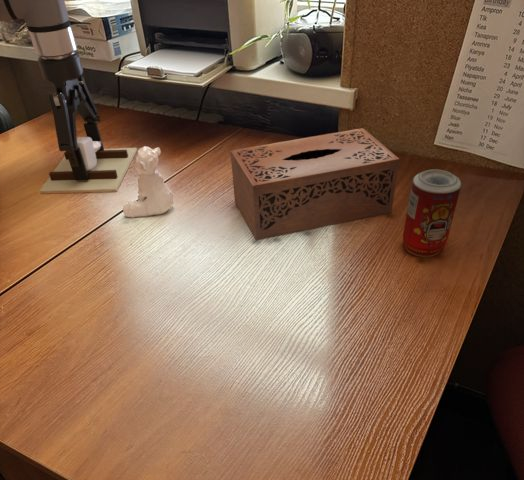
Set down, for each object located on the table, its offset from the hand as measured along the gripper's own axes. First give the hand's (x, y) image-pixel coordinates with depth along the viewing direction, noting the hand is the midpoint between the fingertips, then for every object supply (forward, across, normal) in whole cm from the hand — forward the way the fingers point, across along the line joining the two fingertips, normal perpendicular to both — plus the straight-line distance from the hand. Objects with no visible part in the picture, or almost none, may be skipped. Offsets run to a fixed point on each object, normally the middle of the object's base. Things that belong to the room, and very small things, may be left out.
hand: (90, 166), depth 109 cm
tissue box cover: (+1, +18, +47) cm, 50 cm away
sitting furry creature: (+1, +17, +17) cm, 24 cm away
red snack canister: (+1, +32, +65) cm, 72 cm away
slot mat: (+1, 0, 0) cm, 1 cm away
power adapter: (0, 0, 0) cm, 0 cm away
